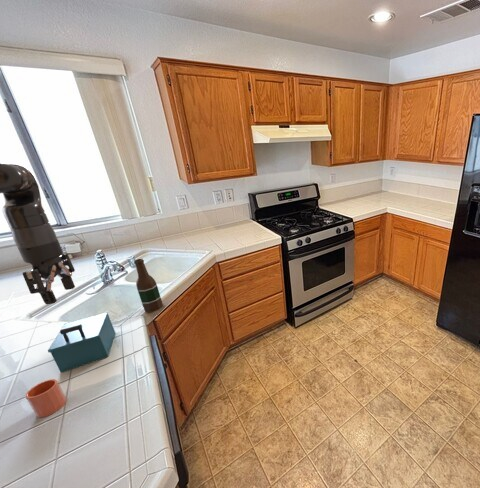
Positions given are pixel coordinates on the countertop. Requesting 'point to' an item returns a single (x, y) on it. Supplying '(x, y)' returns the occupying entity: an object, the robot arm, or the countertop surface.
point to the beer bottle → (147, 288)
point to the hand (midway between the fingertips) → (61, 295)
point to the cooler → (86, 350)
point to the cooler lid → (79, 332)
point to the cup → (46, 398)
